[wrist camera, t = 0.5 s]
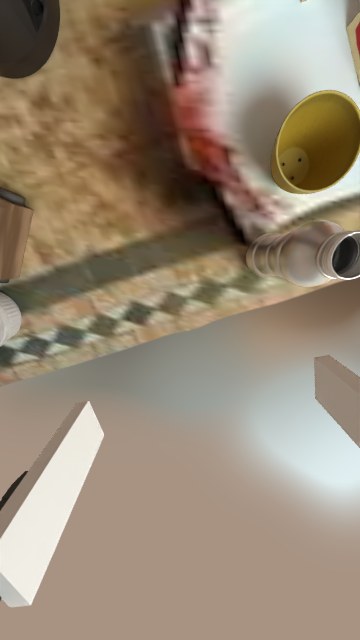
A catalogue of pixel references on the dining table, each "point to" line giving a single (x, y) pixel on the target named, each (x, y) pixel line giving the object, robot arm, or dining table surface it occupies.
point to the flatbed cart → (12, 233)
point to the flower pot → (317, 143)
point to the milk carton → (355, 42)
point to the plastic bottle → (307, 254)
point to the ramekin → (8, 318)
